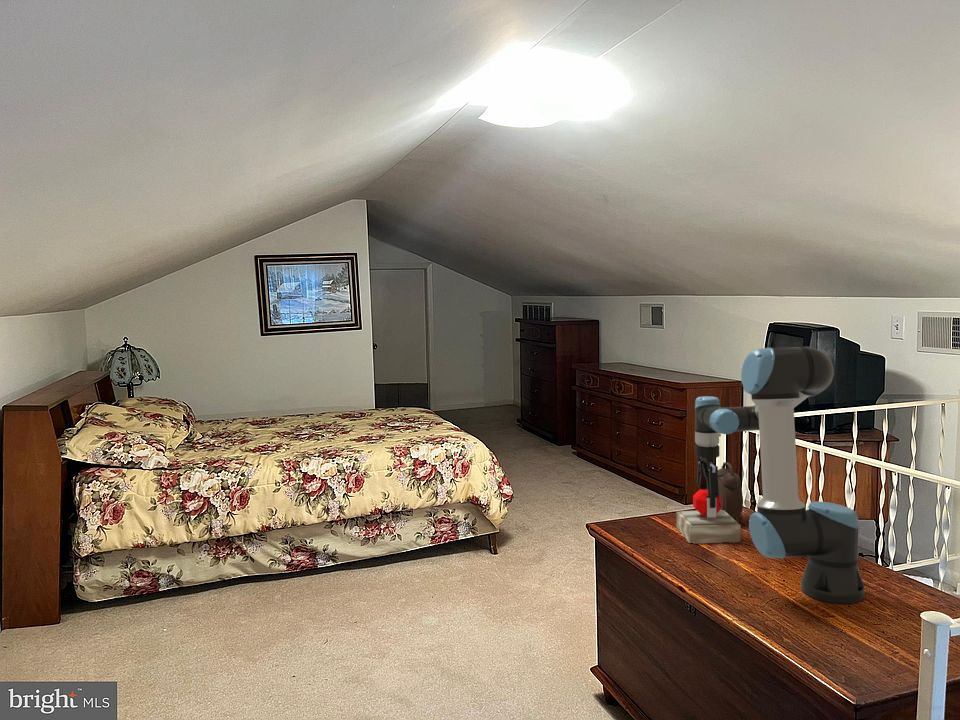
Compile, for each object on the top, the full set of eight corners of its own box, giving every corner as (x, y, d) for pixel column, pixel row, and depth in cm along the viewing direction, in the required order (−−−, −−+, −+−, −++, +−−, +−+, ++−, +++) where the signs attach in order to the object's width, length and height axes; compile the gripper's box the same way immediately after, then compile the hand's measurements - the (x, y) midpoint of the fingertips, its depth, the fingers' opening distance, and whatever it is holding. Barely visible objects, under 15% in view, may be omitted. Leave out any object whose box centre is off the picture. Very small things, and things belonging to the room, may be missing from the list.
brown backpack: (746, 526, 249) (746, 467, 247) (724, 526, 249) (724, 468, 248) (732, 513, 264) (732, 458, 262) (712, 513, 264) (712, 458, 262)
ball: (723, 517, 237) (723, 494, 236) (698, 517, 237) (698, 494, 236) (715, 510, 245) (715, 487, 244) (691, 510, 245) (691, 488, 244)
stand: (740, 542, 234) (740, 523, 233) (689, 543, 234) (689, 525, 233) (723, 526, 250) (723, 508, 249) (676, 527, 250) (676, 510, 249)
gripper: (729, 450, 229) (729, 522, 231) (708, 437, 249) (709, 503, 251) (705, 451, 229) (705, 523, 231) (686, 438, 249) (687, 504, 251)
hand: (707, 512), depth 241 cm, fingers closed on ball, 8 cm apart
